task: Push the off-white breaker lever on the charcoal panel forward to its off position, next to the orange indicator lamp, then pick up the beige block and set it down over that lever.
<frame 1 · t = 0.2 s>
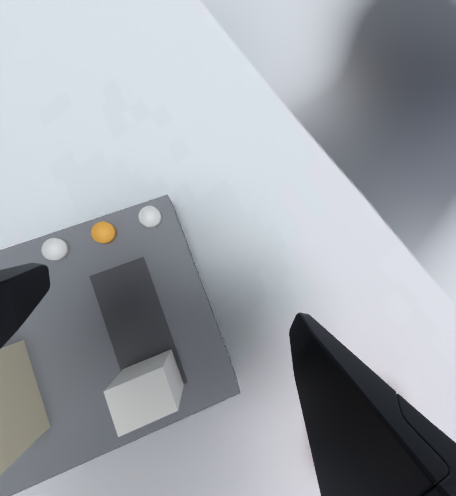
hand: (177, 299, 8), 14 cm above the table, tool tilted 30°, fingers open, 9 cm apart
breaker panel: (82, 335, 21), on the table
breaker lever: (148, 387, 17), point 5 cm above the table, slide at 0.0 cm
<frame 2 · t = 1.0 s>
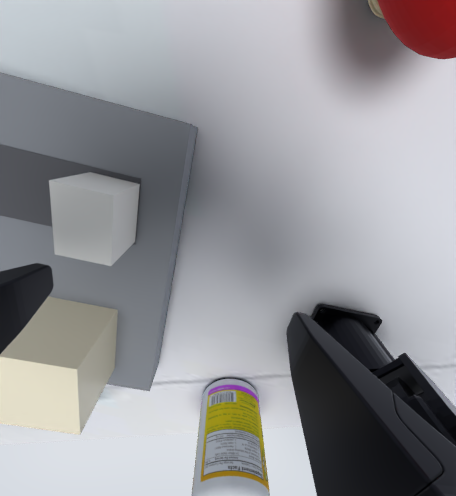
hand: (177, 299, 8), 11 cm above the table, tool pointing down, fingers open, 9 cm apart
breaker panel: (70, 252, 20), on the table
breaker lever: (100, 216, 13), point 5 cm above the table, slide at 0.0 cm
supplement bottle: (230, 392, 28), on the table
beige block: (74, 333, 20), point 3 cm above the table, touching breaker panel
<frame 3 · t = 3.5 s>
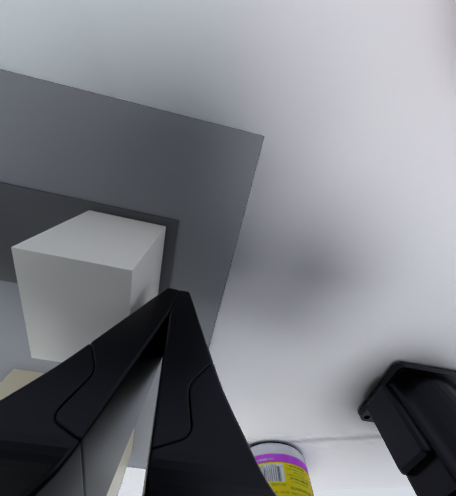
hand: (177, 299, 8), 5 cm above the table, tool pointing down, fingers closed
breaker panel: (71, 304, 15), on the table
breaker lever: (106, 284, 8), point 5 cm above the table, slide at 0.5 cm, touching gripper
supplement bottle: (269, 455, 23), on the table
beige block: (79, 413, 15), point 3 cm above the table, touching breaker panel
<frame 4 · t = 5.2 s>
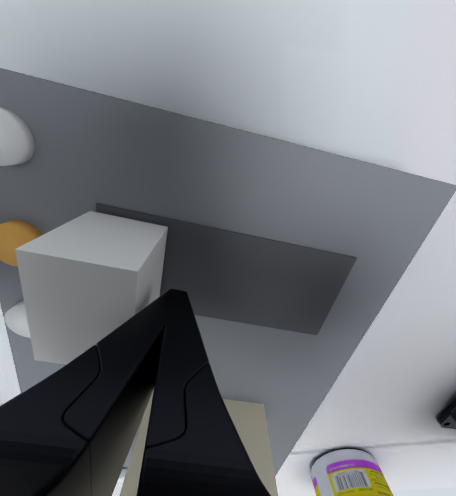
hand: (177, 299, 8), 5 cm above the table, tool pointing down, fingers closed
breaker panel: (189, 325, 15), on the table
breaker lever: (108, 285, 8), point 5 cm above the table, slide at 8.2 cm, touching gripper
supplement bottle: (340, 460, 24), on the table
beige block: (199, 429, 15), point 3 cm above the table, touching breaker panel
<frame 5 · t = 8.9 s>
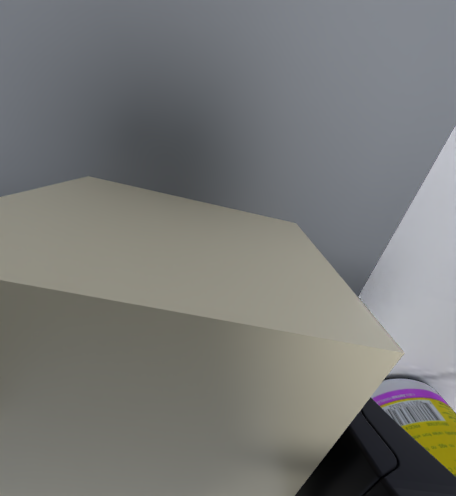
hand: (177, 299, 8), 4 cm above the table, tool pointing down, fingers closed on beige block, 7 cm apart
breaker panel: (167, 111, 9), on the table
supplement bottle: (385, 400, 17), on the table
beige block: (181, 286, 9), point 3 cm above the table, touching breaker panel, gripper
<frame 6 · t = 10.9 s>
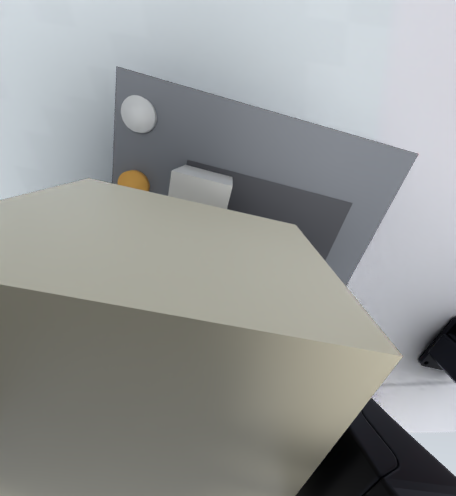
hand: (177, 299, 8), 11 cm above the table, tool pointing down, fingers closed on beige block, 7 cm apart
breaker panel: (227, 266, 21), on the table
breaker lever: (199, 208, 13), point 5 cm above the table, slide at 8.1 cm
beige block: (181, 287, 9), point 11 cm above the table, touching gripper
when the fingers open (5 cm above the table, at t = 12.9 s): beige block drops 1 cm, resting on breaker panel.
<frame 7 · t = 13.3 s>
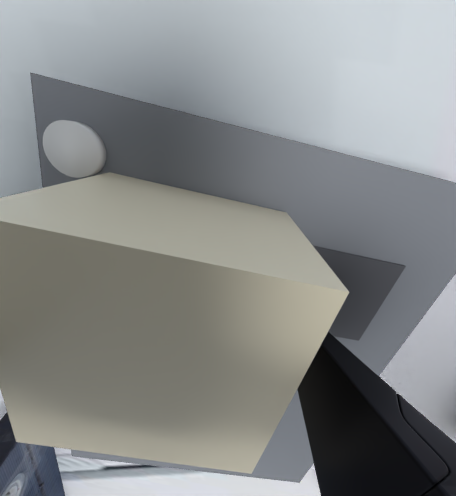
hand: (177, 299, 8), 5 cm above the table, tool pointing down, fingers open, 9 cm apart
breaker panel: (224, 328, 16), on the table
vhs cassette tape: (46, 454, 23), on the table
beige block: (187, 269, 10), point 3 cm above the table, touching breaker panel
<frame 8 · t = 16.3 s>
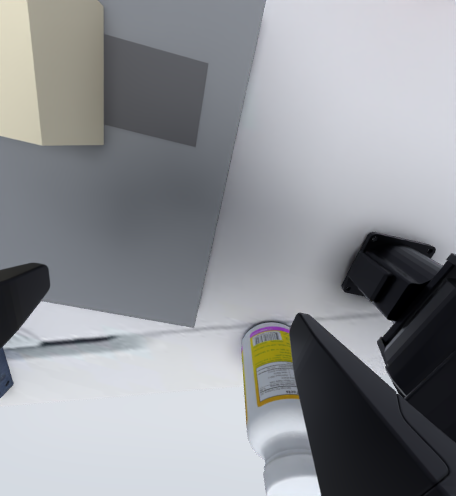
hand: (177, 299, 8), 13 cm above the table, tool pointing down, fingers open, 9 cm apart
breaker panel: (115, 174, 19), on the table
supplement bottle: (269, 339, 27), on the table
beige block: (43, 67, 14), point 3 cm above the table, touching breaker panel
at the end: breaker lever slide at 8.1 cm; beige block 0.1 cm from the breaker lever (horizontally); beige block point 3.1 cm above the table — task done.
